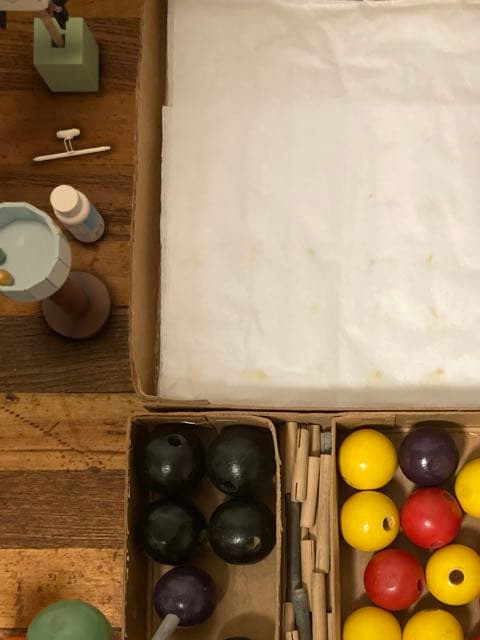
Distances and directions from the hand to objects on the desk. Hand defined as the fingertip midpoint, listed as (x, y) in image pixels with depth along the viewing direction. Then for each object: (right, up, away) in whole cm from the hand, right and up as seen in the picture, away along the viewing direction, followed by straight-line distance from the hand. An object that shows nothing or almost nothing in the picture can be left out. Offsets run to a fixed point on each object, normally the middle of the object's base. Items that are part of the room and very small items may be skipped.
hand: (34, 21), depth 138 cm
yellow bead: (0, -46, -11) cm, 47 cm away
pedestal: (+3, -43, +12) cm, 45 cm away
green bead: (-1, -42, -11) cm, 43 cm away
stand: (+1, 0, +15) cm, 15 cm away
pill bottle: (+4, -29, +13) cm, 32 cm away
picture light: (0, -14, +14) cm, 20 cm away
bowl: (+3, -42, -9) cm, 43 cm away
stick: (+1, +1, +15) cm, 15 cm away
